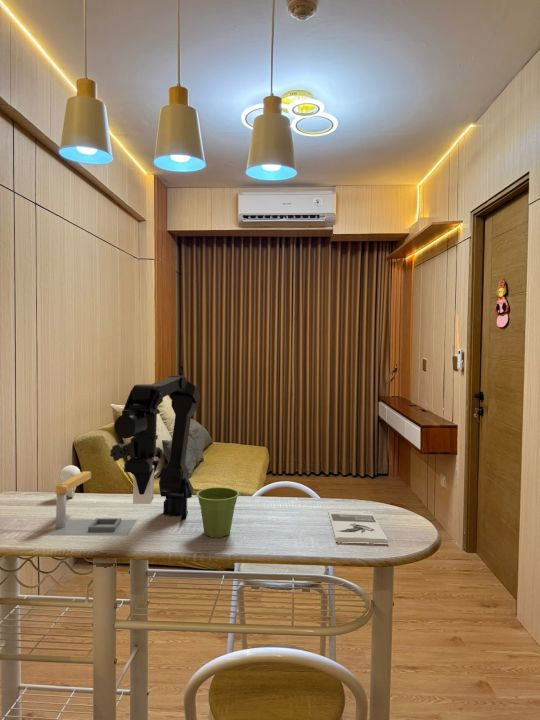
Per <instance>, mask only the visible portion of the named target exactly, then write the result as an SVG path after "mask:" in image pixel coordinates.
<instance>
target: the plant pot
mask: <svg viewBox="0 0 540 720" xmlns="http://www.w3.org/2000/svg"><path fill="white" fill-rule="evenodd" d="M239 496H240V492H239V491H238V490H237V489H235V488H232V487H223V486H219V487H217V486H216V487H215V486H214V487H207V488H203V489H201V490H200V489H199V490H198V491H197V492H196V497H197V498H198V504H199V507H200V513H201V520H202V525H203V532H204V535H206V536H208V537H209V536H210V538H213V537H214V538H217V537H220V538H223V537H224V536H229V535H230V533H231V530H232V524H233V519H234V513H235V507H236V504H237V499H238V497H239Z"/></svg>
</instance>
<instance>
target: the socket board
mask: <svg viewBox="0 0 540 720" xmlns="http://www.w3.org/2000/svg"><path fill="white" fill-rule="evenodd" d="M55 504H56V505H55V506H56V509H55V511H56V512H55V526H54V527H53V528H52V529H50V531H49V532H48V533H46V536H129V534H130V532H131V530H132V529H133V527H134V526H135V524H136V523H137V521H138V519H122V518H120V517H119V518H113V517H112V518H111V517H110V518H109V517H108V518H107V517H105V518H100V517H99V518H95V519H80V518H79V519H75V518H73V519H72V518H71V519H66V518H67V516H66V515H67V514H66V512H67V510H66V509H67V497H66V493H65V494H56V503H55Z"/></svg>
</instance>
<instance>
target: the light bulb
mask: <svg viewBox="0 0 540 720" xmlns="http://www.w3.org/2000/svg"><path fill="white" fill-rule="evenodd" d="M79 473H81V469H80V468H79V467H78V466H76V465H72V464H70V465H66V466H65V467H63V468H62V469H61V471H60V473H59V480H60V483H62V482H64V481H66V480H68V479H70V478H72V477H74V476H76V475H77V474H79ZM76 488H77V486H76V487H75V488H73V489H71V490H70V491H68V492H67V493H66V499H67V498H68V499H72V498H73V497H74V496H75V491H76Z"/></svg>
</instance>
